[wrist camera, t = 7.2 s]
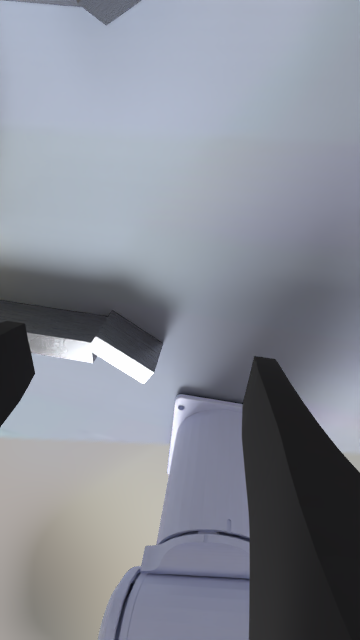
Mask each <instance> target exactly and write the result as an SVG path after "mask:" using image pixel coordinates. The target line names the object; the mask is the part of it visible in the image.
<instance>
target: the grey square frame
mask: <svg viewBox="0 0 360 640" xmlns="http://www.w3.org/2000/svg"><path fill="white" fill-rule="evenodd" d="M6 1H18V2H30V3H42V4H54V5H66V6H78V7H83V8H84V9H86V10H87V11H88V12H89V13H91V14H92V15H93V16H95V17H96V18H97V19H99V20H100V21H101V22H102V23H104V24H105V25H107V24H109V23H110V22H112V21H113V20H114V19H116V18H117V17H119V16H120V15H121V14H123V13H124V12H126V11H127V10H128V9H130V8H131V7H133V6H134V5H135V4H137V3H138V2H140V1H141V0H6ZM5 321H12V322H19V323H25V326H26V331H27V336H28V341H29V346H30V351H31V353H34V354H40V355H47V356H53V357H59V358H65V359H71V360H77V361H84V362H90V363H93V362H94V360H95V359H96V357H97V356H99V357H100V358H102V359H104V360H105V361H107V362H108V363H110V364H112V365H113V366H115V367H117V368H118V369H120V370H121V371H123V372H125V373H126V374H128V375H130V376H131V377H133V378H134V379H136V380H138V381H139V382H141V383H143V384H144V383H145V382H146V381H147V380H148V379H149V378H150V376H151V375H152V374H153V373H154V371H155V368H156V365H157V362H158V358H159V355H160V352H161V349H162V346H163V343H161V342H160V341H158V340H157V339H155V338H154V337H152V336H151V335H149V334H148V333H146V332H145V331H143V330H141V329H140V328H138V327H137V326H135V325H134V324H132V323H131V322H129V321H128V320H126V319H125V318H123V317H122V316H120V315H119V314H117V313H115V312H114V311H112V312H111V313H110V315H109V316H108V317H107V316H101V315H94V314H87V313H81V312H74V311H68V310H61V309H54V308H48V307H41V306H35V305H28V304H21V303H15V302H8V301H2V300H0V323H2V322H5Z"/></svg>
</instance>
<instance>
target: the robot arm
mask: <svg viewBox="0 0 360 640" xmlns="http://www.w3.org/2000/svg"><path fill="white" fill-rule="evenodd" d="M34 374H35V371H34V366H33V361H32V356H31V351H30V346H29V341H28V336H27V331H26V326H25V323H19V322H12V321H5V322H2V323H0V427H1V425H2V424H3V423H4V421H5V420H6V419H7V417H8V416H9V415H10V413H11V412H12V411H13V409H14V408H15V407H16V405H17V404H18V403H19V401H20V400H21V398H22V396H23V394H24V393H25V391H26V389H27V388H28V386H29V384H30V382H31V380H32V378H33V376H34ZM180 405H183V406H180ZM167 473H168V475H169V478H168V483H167V489H166V494H165V500H164V505H163V511H162V516H161V522H160V527H159V533H158V539H157V544H156V545H154V546H146V547H145V551H144V555H143V560H142V565H141V566H140V567H139V566H137V567H133V568H131V569H130V570H128V572H127V573H126V574H125V575H124V577H123V578H122V580H121V581H120V583H119V584H118V585H117V587H116V588H115V590H114V592H113V593H112V595H111V598H110V600H109V602H108V605H107V608H106V611H105V613H104V617H103V620H102V624H101V628H100V632H99V636H98V640H360V473H359V472H358V470H357V469H356V468H355V467H354V466H353V465H352V464H351V463H350V462H349V460H348V459H347V458H346V457H345V456H344V455H343V454H342V453H341V451H340V450H339V449H338V448H337V447H336V445H335V444H334V443H333V442H332V440H331V439H330V438H329V437H328V435H327V434H326V433H325V432H324V430H323V429H322V428H321V426H320V425H319V424H318V422H317V421H316V420H315V418H314V417H313V415H312V414H311V413H310V411H309V410H308V408H307V407H306V406H305V404H304V403H303V401H302V400H301V398H300V397H299V395H298V394H297V392H296V391H295V389H294V388H293V386H292V385H291V383H290V382H289V380H288V378H287V377H286V375H285V374H284V372H283V370H282V369H281V367H280V365H279V364H278V362H277V361H276V360H275V359H270V358H263V357H256V356H254V360H253V364H252V369H251V373H250V377H249V381H248V385H247V389H246V393H245V397H244V402H243V404H238V403H232V402H226V401H220V400H214V399H208V398H202V397H196V396H190V395H184V394H180V395H177V396H176V399H175V406H174V415H173V424H172V433H171V441H170V450H169V459H168V468H167Z"/></svg>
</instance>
